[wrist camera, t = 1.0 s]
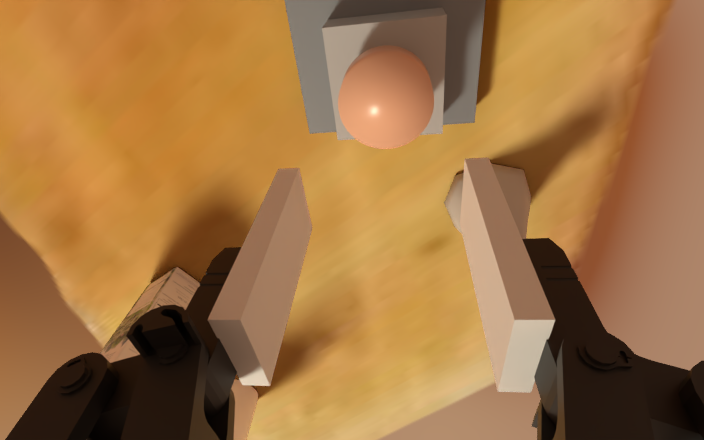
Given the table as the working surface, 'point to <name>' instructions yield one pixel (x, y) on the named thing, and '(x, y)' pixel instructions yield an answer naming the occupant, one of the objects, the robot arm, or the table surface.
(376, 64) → the button terracotta
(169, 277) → the syrup box
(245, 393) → the bottle
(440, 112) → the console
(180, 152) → the table surface
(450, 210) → the flask
